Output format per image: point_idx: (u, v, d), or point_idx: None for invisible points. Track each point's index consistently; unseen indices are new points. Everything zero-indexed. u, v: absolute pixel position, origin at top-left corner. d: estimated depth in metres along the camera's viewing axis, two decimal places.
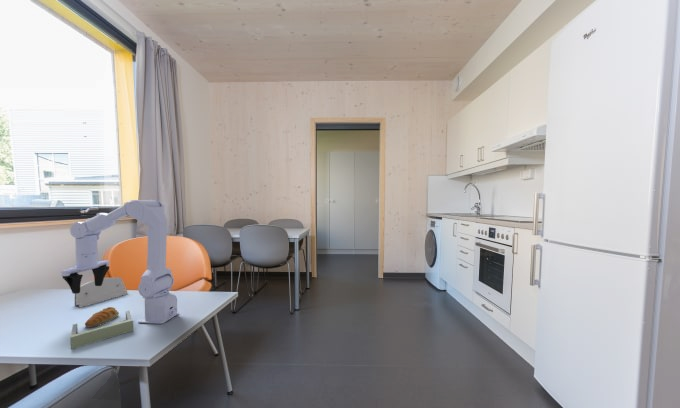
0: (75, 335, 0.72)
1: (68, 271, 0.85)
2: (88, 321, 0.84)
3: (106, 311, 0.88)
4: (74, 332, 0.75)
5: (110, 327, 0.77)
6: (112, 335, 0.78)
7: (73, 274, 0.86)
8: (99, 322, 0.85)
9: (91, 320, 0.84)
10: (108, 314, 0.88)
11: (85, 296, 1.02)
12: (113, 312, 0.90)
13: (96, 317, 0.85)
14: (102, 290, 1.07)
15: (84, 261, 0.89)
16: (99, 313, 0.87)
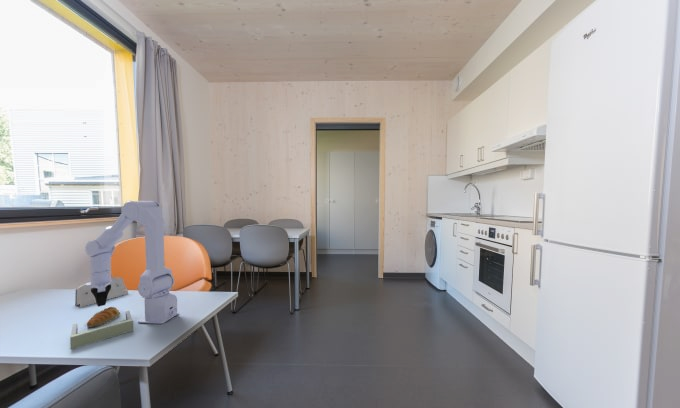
0: (75, 335, 0.72)
1: (105, 286, 0.91)
2: (90, 321, 0.84)
3: (108, 311, 0.89)
4: (74, 332, 0.75)
5: (110, 327, 0.77)
6: (112, 335, 0.78)
7: None
8: (101, 322, 0.85)
9: (93, 320, 0.84)
10: (110, 314, 0.88)
11: (86, 296, 1.02)
12: (114, 312, 0.90)
13: (98, 317, 0.85)
14: None
15: (107, 277, 0.94)
16: (101, 313, 0.87)
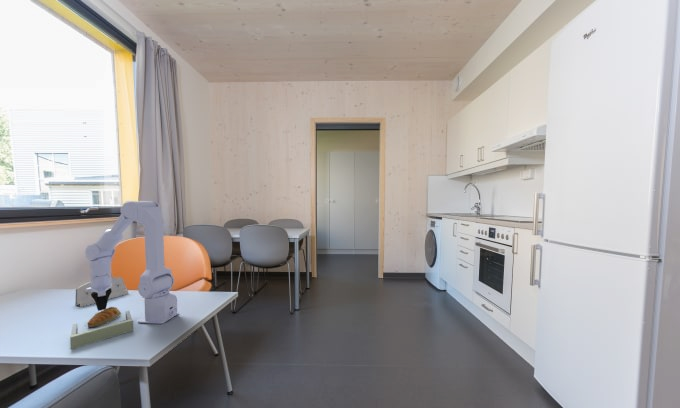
0: (75, 335, 0.72)
1: None
2: (90, 321, 0.84)
3: (108, 311, 0.89)
4: (74, 332, 0.75)
5: (110, 327, 0.77)
6: (112, 335, 0.78)
7: None
8: (102, 322, 0.85)
9: (94, 320, 0.84)
10: (111, 313, 0.88)
11: (86, 296, 1.03)
12: (115, 312, 0.90)
13: (98, 317, 0.86)
14: None
15: (107, 281, 0.94)
16: (101, 313, 0.87)
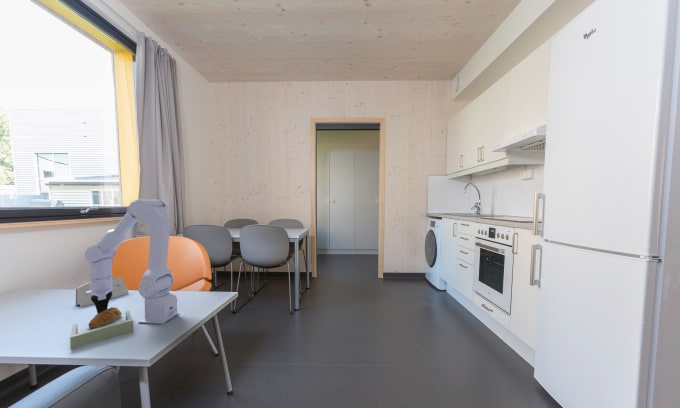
0: (75, 335, 0.72)
1: (105, 294, 0.87)
2: (92, 321, 0.83)
3: (109, 311, 0.88)
4: (74, 332, 0.75)
5: (110, 327, 0.77)
6: (112, 335, 0.78)
7: None
8: (103, 322, 0.84)
9: (95, 320, 0.83)
10: (112, 314, 0.87)
11: (86, 296, 1.03)
12: (116, 312, 0.89)
13: (100, 317, 0.85)
14: None
15: (107, 284, 0.90)
16: (102, 313, 0.86)
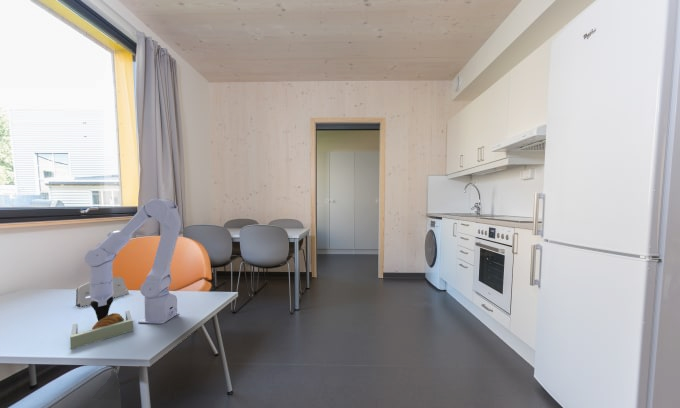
0: (75, 335, 0.72)
1: (106, 300, 0.82)
2: None
3: (112, 317, 0.83)
4: (74, 332, 0.75)
5: (110, 327, 0.77)
6: (112, 335, 0.78)
7: None
8: None
9: (98, 327, 0.79)
10: (115, 320, 0.83)
11: (86, 295, 1.03)
12: (119, 318, 0.85)
13: (103, 324, 0.80)
14: None
15: (108, 289, 0.85)
16: (104, 320, 0.82)
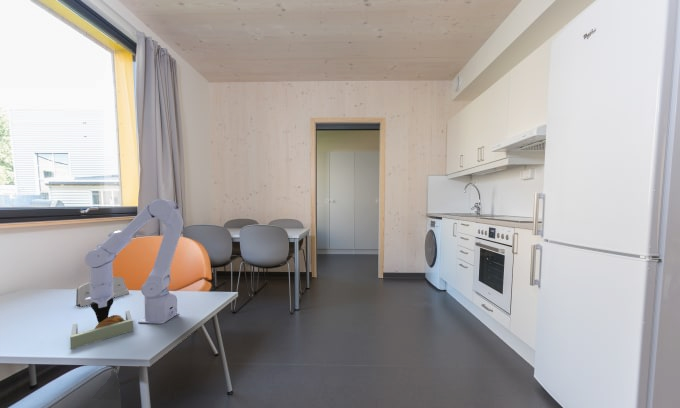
0: (75, 335, 0.72)
1: (106, 301, 0.80)
2: None
3: (113, 319, 0.82)
4: (74, 332, 0.75)
5: (110, 327, 0.77)
6: (112, 335, 0.78)
7: None
8: None
9: None
10: (117, 322, 0.82)
11: (86, 295, 1.03)
12: (120, 320, 0.84)
13: None
14: None
15: (108, 290, 0.84)
16: (106, 322, 0.81)
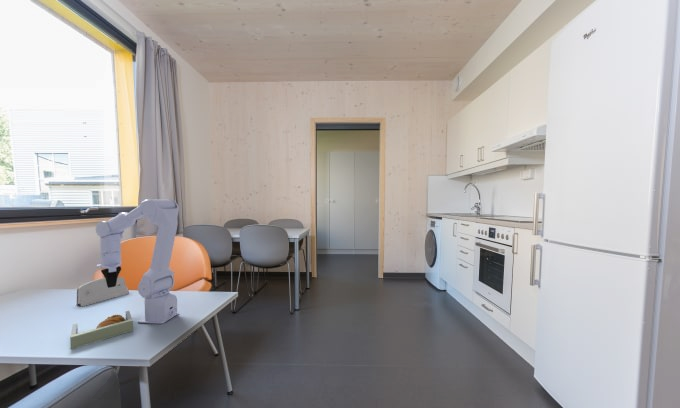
0: (75, 335, 0.72)
1: (116, 267, 0.90)
2: None
3: (114, 319, 0.83)
4: (74, 332, 0.75)
5: (110, 327, 0.77)
6: (112, 335, 0.78)
7: None
8: None
9: None
10: (118, 321, 0.82)
11: (87, 295, 1.03)
12: (122, 319, 0.84)
13: (106, 325, 0.80)
14: (104, 289, 1.08)
15: (117, 258, 0.94)
16: (107, 321, 0.81)
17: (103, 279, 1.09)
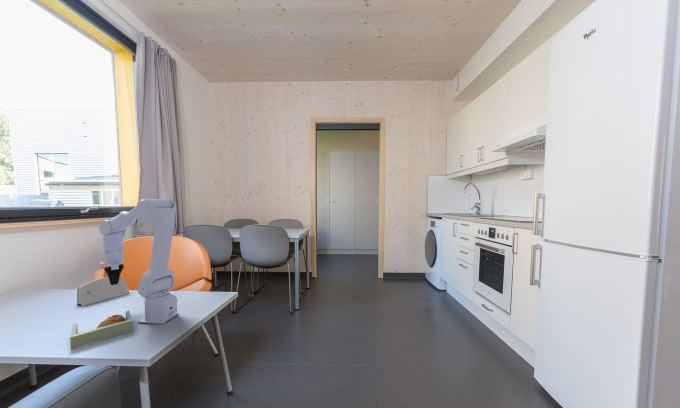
0: (75, 335, 0.72)
1: (118, 264, 0.92)
2: None
3: (115, 318, 0.83)
4: (74, 332, 0.75)
5: (110, 327, 0.77)
6: (112, 335, 0.78)
7: None
8: None
9: None
10: (119, 321, 0.83)
11: (87, 295, 1.03)
12: (122, 319, 0.84)
13: (107, 325, 0.80)
14: (104, 289, 1.08)
15: (119, 256, 0.96)
16: (108, 321, 0.81)
17: (103, 279, 1.09)
